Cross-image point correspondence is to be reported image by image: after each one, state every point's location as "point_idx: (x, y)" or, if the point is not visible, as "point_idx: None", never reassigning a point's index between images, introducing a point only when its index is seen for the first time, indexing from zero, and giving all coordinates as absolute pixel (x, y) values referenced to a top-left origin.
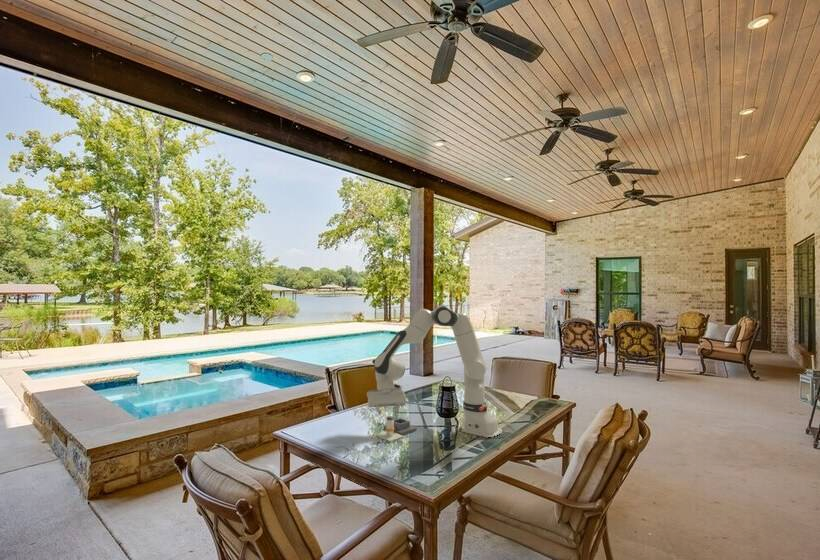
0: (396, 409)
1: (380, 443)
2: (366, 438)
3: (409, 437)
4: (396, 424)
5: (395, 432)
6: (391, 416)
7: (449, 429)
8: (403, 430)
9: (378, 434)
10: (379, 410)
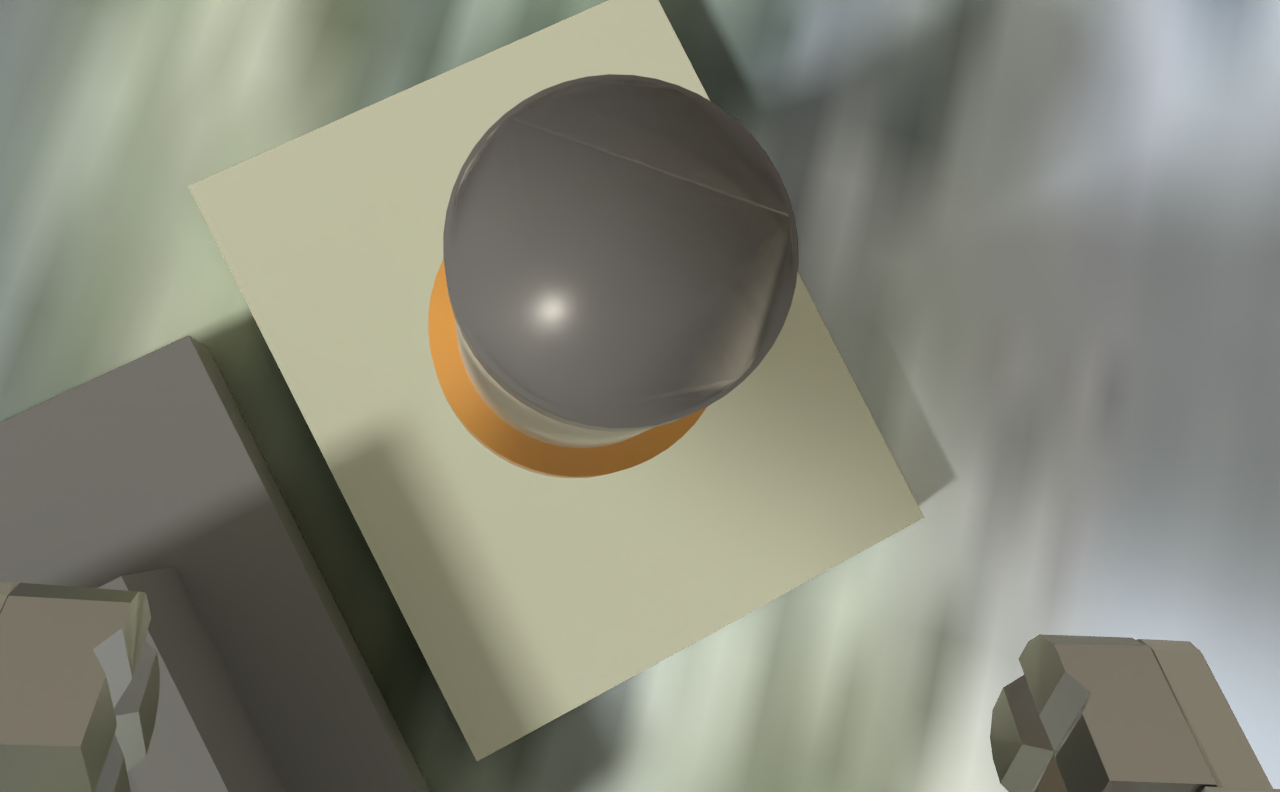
0: (76, 695)
1: (884, 45)
2: (1150, 455)
3: (13, 201)
4: (214, 732)
5: (321, 581)
6: (521, 375)
7: None
8: (57, 517)
9: (854, 504)
10: (1184, 752)
